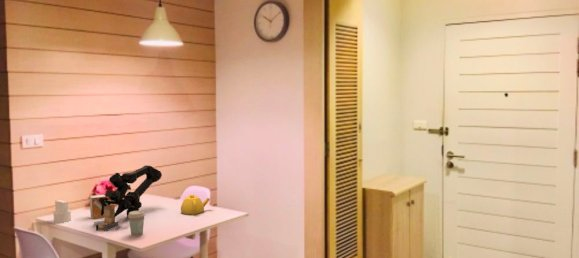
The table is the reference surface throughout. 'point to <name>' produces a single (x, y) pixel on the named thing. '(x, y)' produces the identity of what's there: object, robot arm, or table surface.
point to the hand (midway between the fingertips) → (107, 215)
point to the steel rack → (109, 226)
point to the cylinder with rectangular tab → (62, 212)
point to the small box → (96, 206)
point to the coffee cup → (136, 222)
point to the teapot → (193, 205)
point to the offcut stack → (101, 226)
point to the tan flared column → (109, 214)
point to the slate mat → (98, 222)
